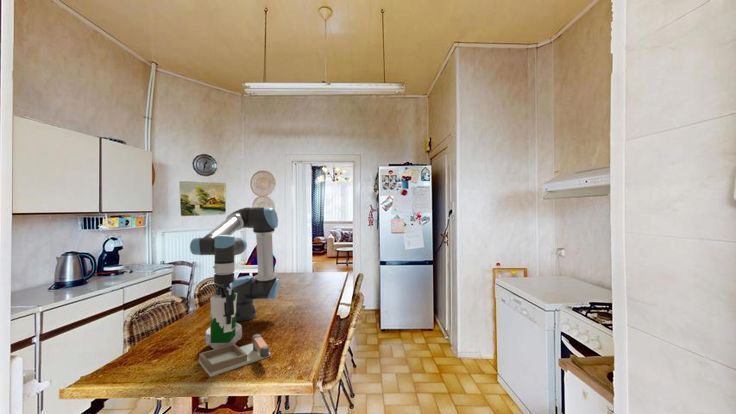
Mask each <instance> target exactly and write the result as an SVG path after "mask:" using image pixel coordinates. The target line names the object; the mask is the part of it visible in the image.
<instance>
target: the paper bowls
mask: <svg viewBox="0 0 736 414" xmlns="http://www.w3.org/2000/svg"><path fill="white" fill-rule="evenodd" d="M242 337H243V327H242V325H241V324H240V323H237V322H236V331H235V337H234V338H233V339H232V340H231V341H230V342H229V343H211V326H209V327H208V328H207V329H206V330H205V344H206V345H207V346H210V347H211V348H212V350H214V349H217V348H220V347H224V346H227V345H231V344H236V345H237V342H238V341H240V340H241V339H242Z"/></svg>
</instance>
